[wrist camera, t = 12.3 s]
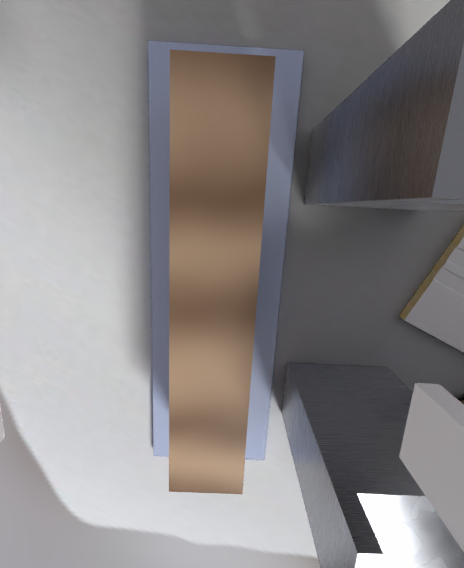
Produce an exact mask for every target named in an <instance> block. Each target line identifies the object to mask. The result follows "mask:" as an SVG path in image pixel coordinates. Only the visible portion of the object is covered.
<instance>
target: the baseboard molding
mask: <svg viewBox="0 0 464 568" xmlns="http://www.w3.org/2000/svg"><path fill="white" fill-rule="evenodd" d="M399 316H400V318H401V319H403V320H404V321H406V322H408V323H410V324H412V325H413V326H415V327H417V328H419V329H421V330H423V331H425V332H426V333H428V334H430V335H432V336H434V337H436V338H437V339H439V340H441V341H443V342H445V343H447V344H448V345H450V346H452V347H454V348H456V349H458V350H460V351H461V352H463V353H464V225H463V226H462V228H461V229H460V230H459V232H458V233H457V235H456V236H455V238H454V239H453V240H452V242H451V243H450V245H449V246H448V247H447V249H446V250H445V252H444V253H443V255H442V256H441V257H440V259H439V260H438V262H437V263H436V264H435V266H434V267H433V269H432V270H431V271H430V273H429V274H428V276H427V277H426V279H425V280H424V281H423V283H422V284H421V286H420V287H419V288H418V290H417V291H416V293H415V294H414V296H413V297H412V298H411V300H410V301H409V303H408V304H407V305H406V307H405V308H404V310H403V311H402V312H401V314H400V315H399Z"/></svg>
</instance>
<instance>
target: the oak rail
mask: <svg viewBox="0 0 464 568" xmlns="http://www.w3.org/2000/svg"><path fill="white" fill-rule="evenodd" d="M275 59H276V56H263V55H247V54H232V53H216V52H201V51H185V50H170V231H169V491H171V492H198V493H225V494H242V490H243V477H244V464H245V451H246V438H247V425H248V411H249V398H250V385H251V372H252V359H253V346H254V333H255V320H256V307H257V294H258V281H259V268H260V255H261V242H262V229H263V216H264V203H265V190H266V177H267V164H268V151H269V137H270V124H271V111H272V98H273V85H274V72H275Z"/></svg>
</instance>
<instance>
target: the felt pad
mask: <svg viewBox="0 0 464 568" xmlns="http://www.w3.org/2000/svg"><path fill="white" fill-rule="evenodd" d="M170 50H185V51H201V52H216V53H232V54H247V55H263V56H276V59H275V72H274V85H273V98H272V111H271V124H270V137H269V151H268V164H267V177H266V190H265V203H264V216H263V229H262V242H261V255H260V268H259V281H258V294H257V307H256V320H255V333H254V346H253V359H252V372H251V385H250V398H249V411H248V425H247V438H246V451H245V460H265V450H266V440H267V429H268V419H269V408H270V398H271V388H272V377H273V367H274V356H275V346H276V336H277V325H278V315H279V304H280V294H281V284H282V273H283V263H284V252H285V242H286V232H287V221H288V211H289V200H290V190H291V180H292V169H293V159H294V148H295V138H296V128H297V117H298V107H299V96H300V86H301V76H302V65H303V55H304V51H302V50H286V49H271V48H256V47H240V46H225V45H209V44H194V43H178V42H163V41H148V72H149V148H150V223H151V298H152V374H153V449H154V456H166V457H169V231H170Z"/></svg>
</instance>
